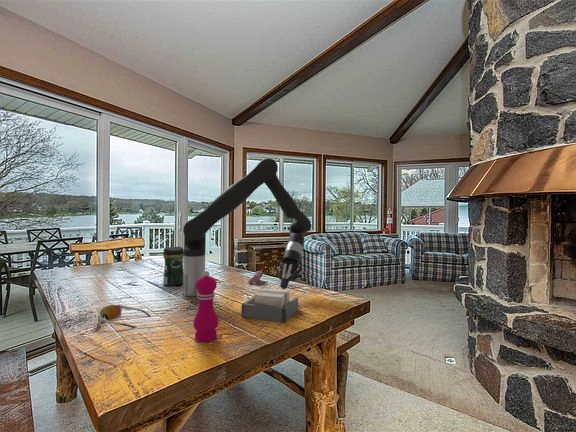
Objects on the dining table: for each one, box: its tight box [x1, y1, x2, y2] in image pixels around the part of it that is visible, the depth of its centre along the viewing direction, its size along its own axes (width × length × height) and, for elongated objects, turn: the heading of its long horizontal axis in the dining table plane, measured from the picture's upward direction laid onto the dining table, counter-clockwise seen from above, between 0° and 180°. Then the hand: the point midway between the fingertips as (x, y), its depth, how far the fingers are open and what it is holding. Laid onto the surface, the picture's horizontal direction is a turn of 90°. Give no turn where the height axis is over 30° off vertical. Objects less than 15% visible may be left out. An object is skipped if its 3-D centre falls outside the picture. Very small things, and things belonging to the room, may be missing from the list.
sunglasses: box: [97, 303, 152, 329], centre depth 109 cm, size 14×15×5 cm
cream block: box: [253, 287, 290, 308], centre depth 118 cm, size 10×10×8 cm
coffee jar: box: [162, 246, 184, 287], centre depth 160 cm, size 10×8×19 cm
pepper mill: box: [193, 270, 219, 343], centre depth 96 cm, size 7×7×20 cm
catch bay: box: [240, 296, 299, 323], centre depth 119 cm, size 15×16×4 cm
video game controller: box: [248, 270, 264, 285], centre depth 167 cm, size 10×5×7 cm, turn 170°
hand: (283, 288), depth 132 cm, fingers closed
